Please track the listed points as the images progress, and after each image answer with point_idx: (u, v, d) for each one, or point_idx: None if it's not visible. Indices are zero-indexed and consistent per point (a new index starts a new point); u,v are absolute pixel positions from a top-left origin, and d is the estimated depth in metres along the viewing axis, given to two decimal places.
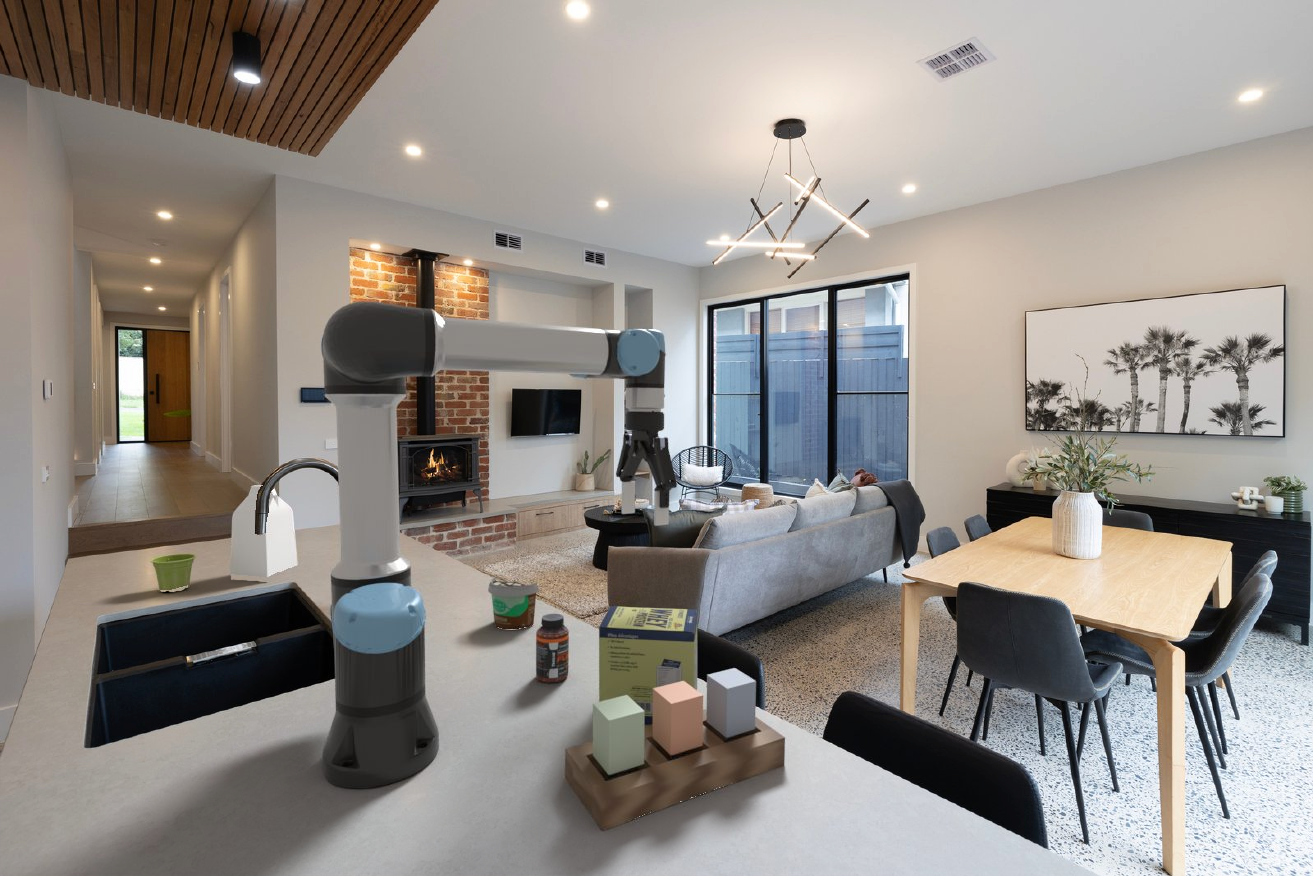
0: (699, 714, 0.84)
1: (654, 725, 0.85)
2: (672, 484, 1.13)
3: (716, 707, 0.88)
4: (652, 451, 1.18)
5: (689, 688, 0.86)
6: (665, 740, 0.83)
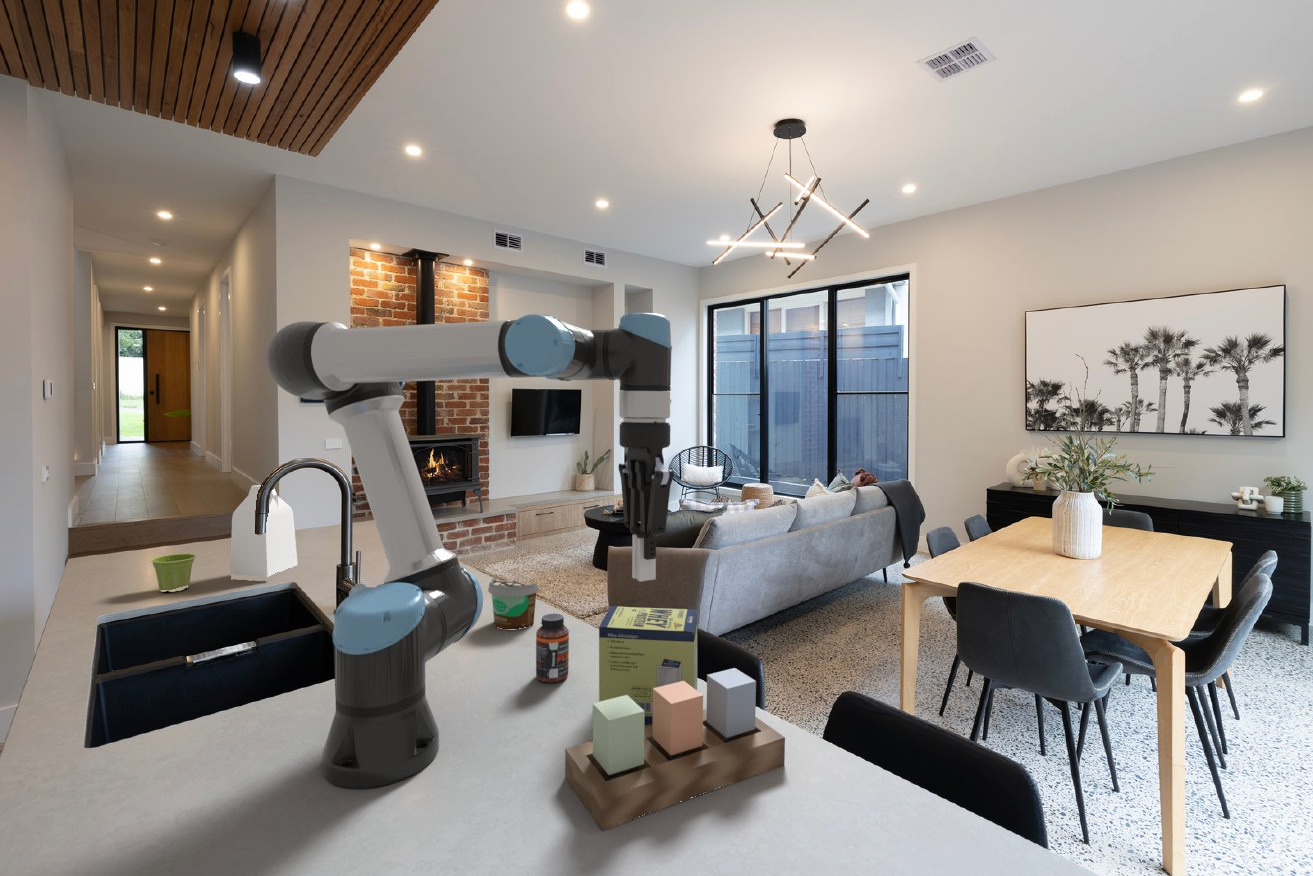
0: (699, 714, 0.84)
1: (654, 725, 0.85)
2: (659, 533, 0.89)
3: (716, 707, 0.88)
4: None
5: (689, 688, 0.86)
6: (665, 740, 0.83)
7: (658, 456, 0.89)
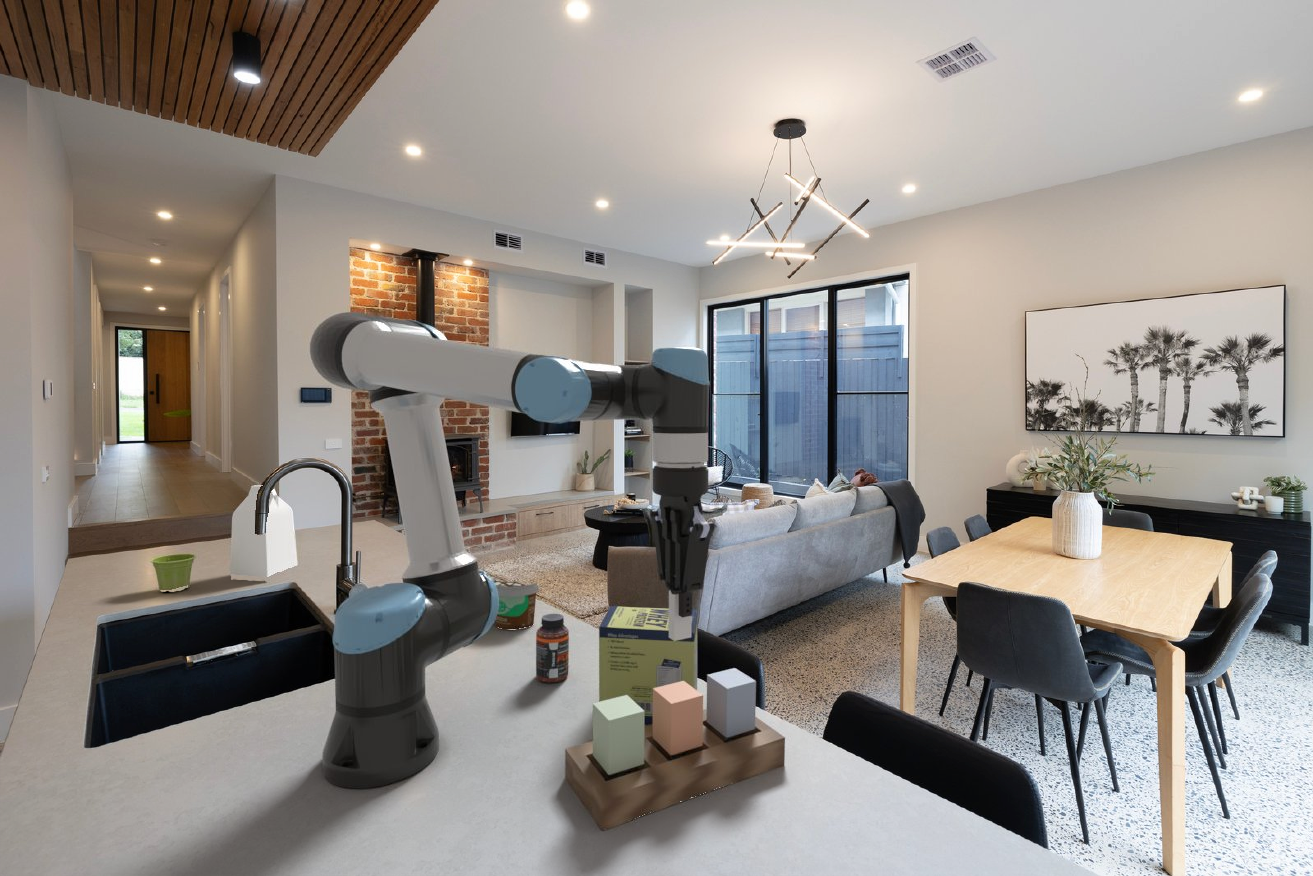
0: (699, 714, 0.84)
1: (654, 725, 0.85)
2: (696, 589, 0.81)
3: (716, 707, 0.88)
4: None
5: (689, 688, 0.86)
6: (665, 740, 0.83)
7: (696, 505, 0.80)
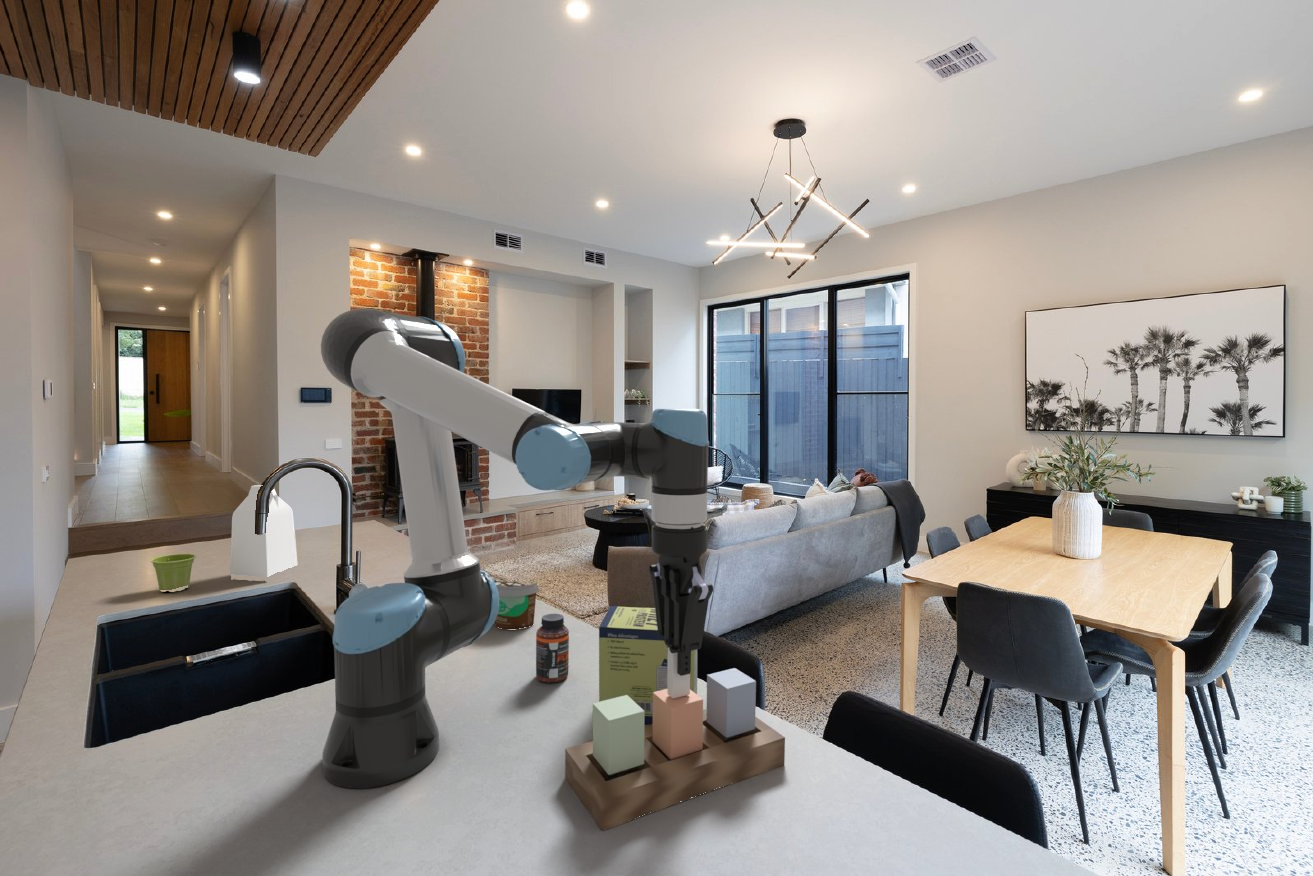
0: (699, 718, 0.84)
1: (654, 729, 0.85)
2: (695, 649, 0.81)
3: (716, 707, 0.88)
4: None
5: None
6: (665, 744, 0.83)
7: (695, 565, 0.81)
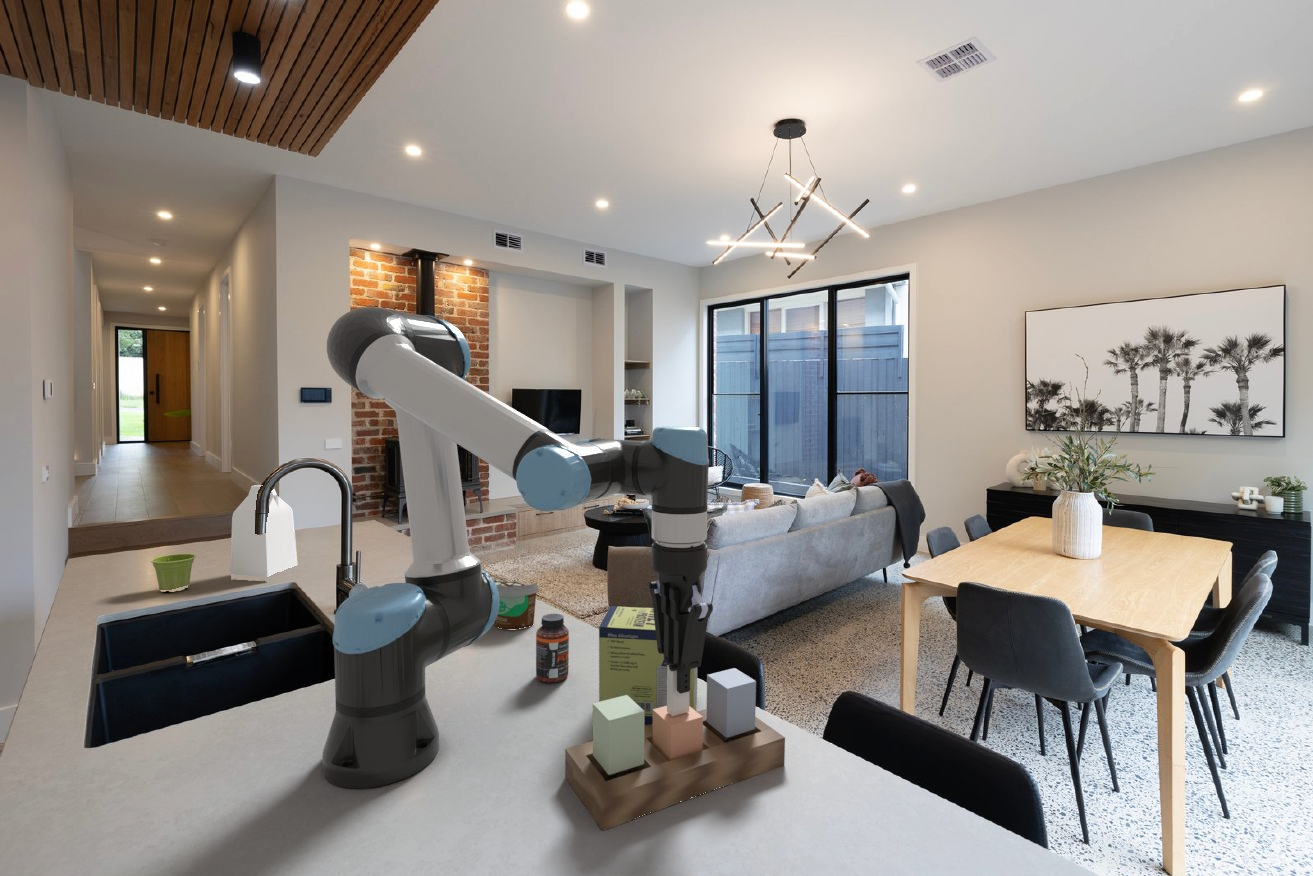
0: (699, 735, 0.84)
1: (654, 746, 0.86)
2: (694, 667, 0.81)
3: (716, 707, 0.88)
4: None
5: (689, 709, 0.86)
6: None
7: (695, 584, 0.81)
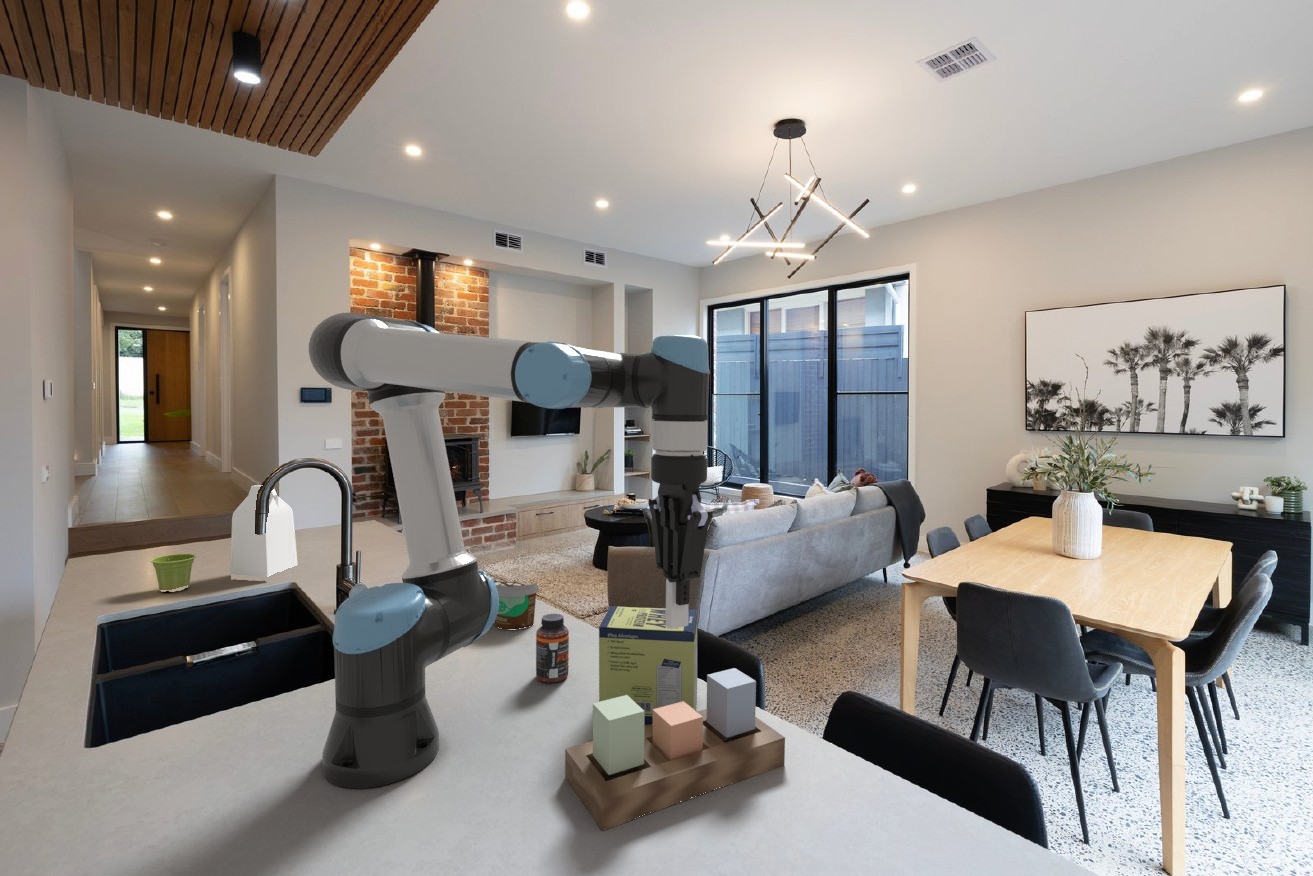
0: (699, 735, 0.84)
1: (654, 746, 0.86)
2: (693, 577, 0.81)
3: (716, 707, 0.88)
4: None
5: (689, 709, 0.86)
6: None
7: (695, 493, 0.80)
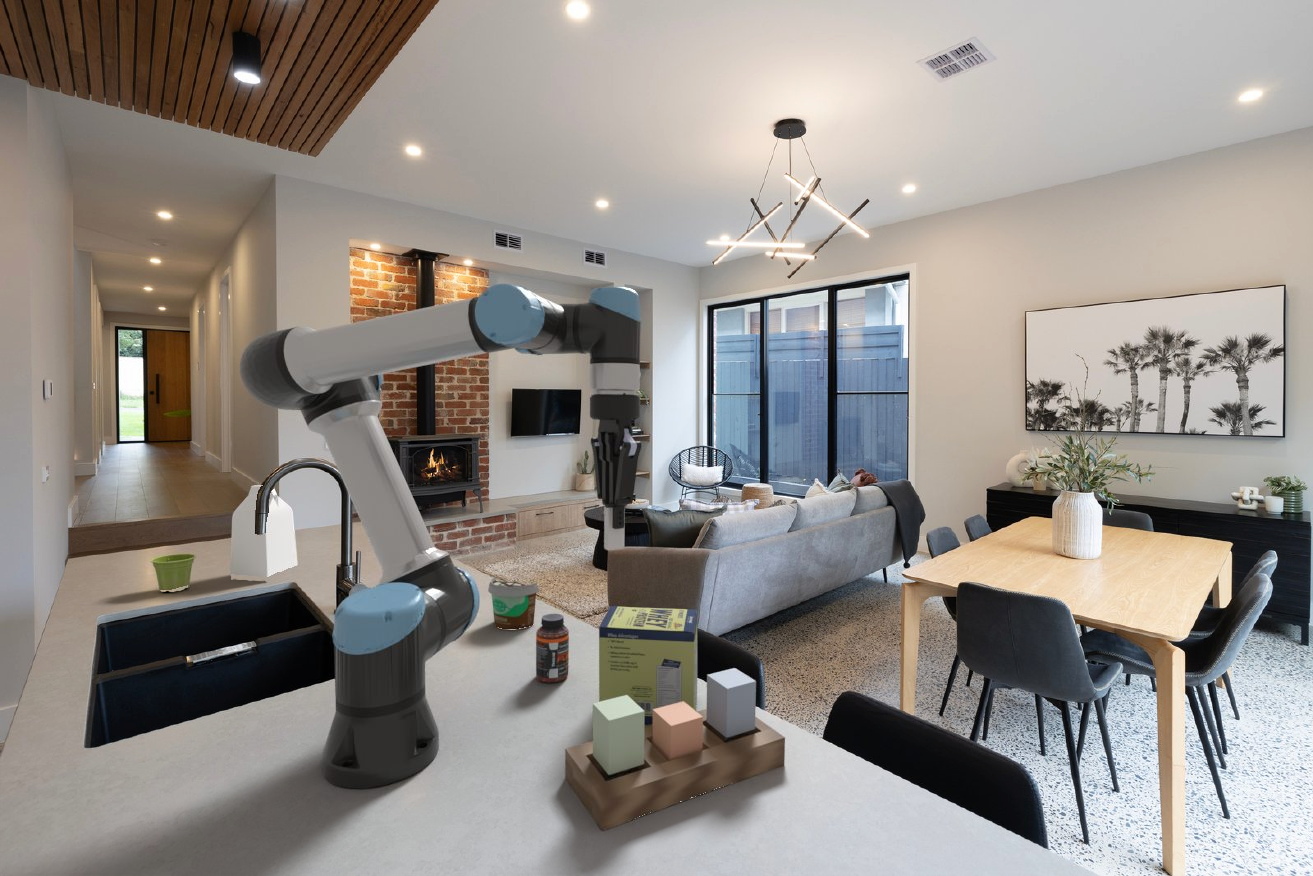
0: (699, 735, 0.84)
1: (654, 746, 0.86)
2: (626, 502, 0.91)
3: (716, 707, 0.88)
4: None
5: (689, 709, 0.86)
6: None
7: (627, 427, 0.90)
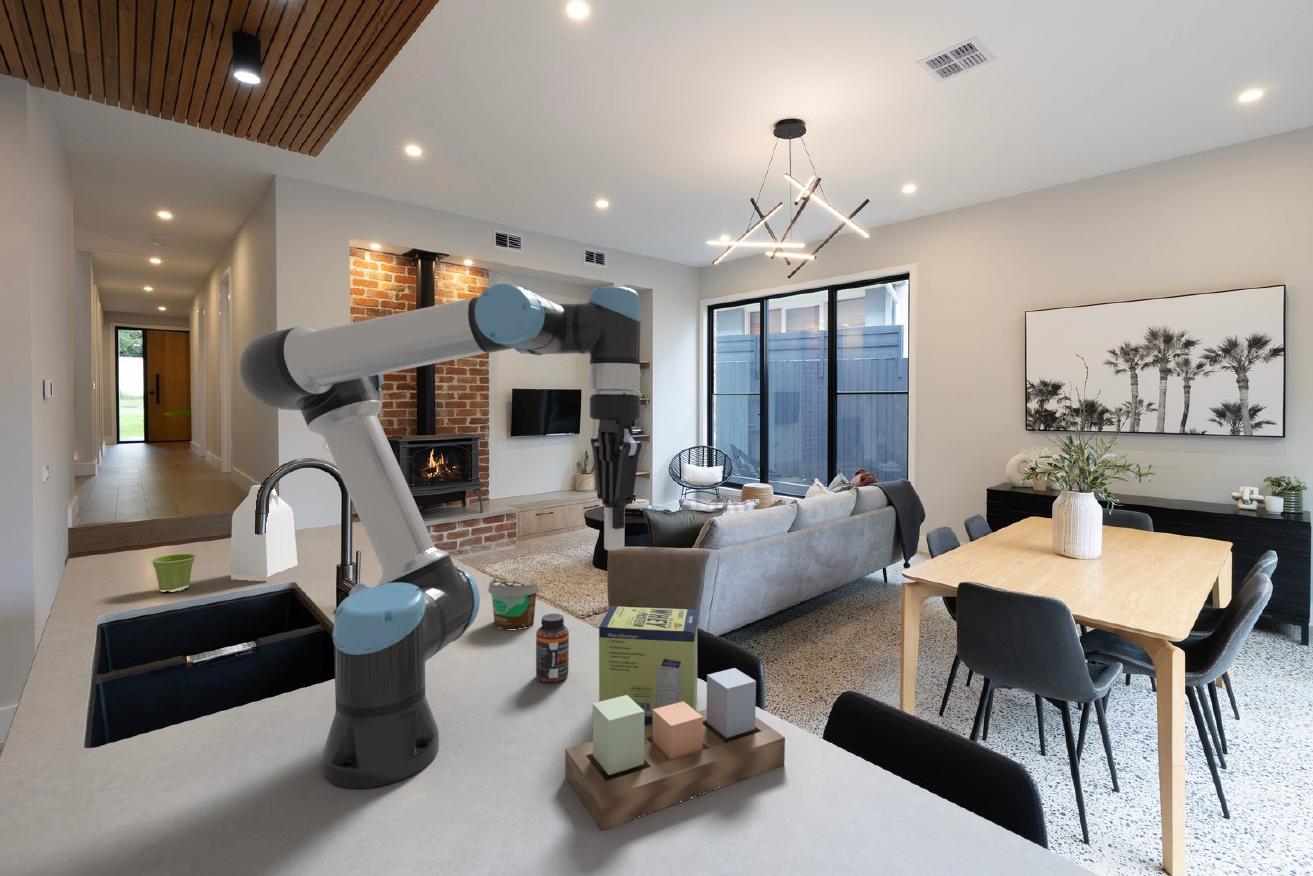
0: (699, 735, 0.84)
1: (654, 746, 0.86)
2: (626, 502, 0.91)
3: (716, 707, 0.88)
4: None
5: (689, 709, 0.86)
6: None
7: (627, 427, 0.90)
